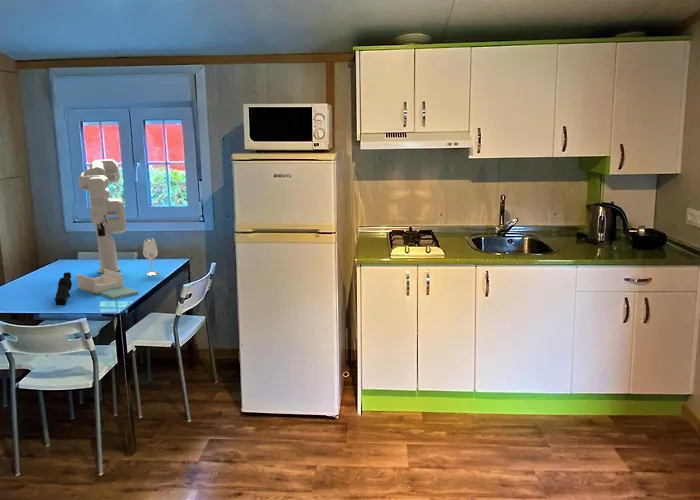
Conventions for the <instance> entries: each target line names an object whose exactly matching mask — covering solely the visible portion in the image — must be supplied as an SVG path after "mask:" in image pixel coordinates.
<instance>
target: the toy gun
mask: <svg viewBox="0 0 700 500" xmlns="http://www.w3.org/2000/svg"><path fill="white" fill-rule="evenodd" d="M72 286H73V283H72V273H71V272H64V273H63V277H60V278H59V281H58V284H57V287H58V288H57V290H56V293H55V297H54V303H55V306H56V307H58V306H57V305H61V306H66V305H67V301H68V298H69V297H70V296H71V293H70V291H71V289H72Z"/></svg>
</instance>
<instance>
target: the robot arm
mask: <svg viewBox="0 0 700 500" xmlns="http://www.w3.org/2000/svg"><path fill="white" fill-rule="evenodd" d="M119 181H120V170H119V166H118V163H117V161H115V160H114V159H95V160H93V161H92V162H91V163H90V164H89V169H86V170H85V171H82V172H80V175H79V179H78V186H79V188H80V189H81V190H82V191H88V195H89V203H90V222H91V223H93V227H94V230H95V234H96V240H97V241H96V242H97V250H98V257H99V268H98V269H97V272H98V273H100V274H104V269H107V270H111V271H114V272H117V273H118V272H119V271H121V270H122V268H121V267H120V266H119V265H118V258H117V247H116V240H115V239H114V237H113V236H112V234H123V233H125V232H126V231H127V228H128V227H127V226H128V225H127V219H126V217H127V215H126V208H125V203H124V200H123V199H120V198H111V193H110V190H109V188H108V187H109V185H110V184H116V183H119ZM108 216H109V217H108Z"/></svg>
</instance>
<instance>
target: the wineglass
mask: <svg viewBox="0 0 700 500" xmlns="http://www.w3.org/2000/svg"><path fill="white" fill-rule="evenodd" d="M157 246H158V245H157V242H156V241H155V239H154V238H145V239H144V240H143V247H142V249H143V250H142V253H143V256H144V257H145V258H146V259H148V260H149V261H150V268H151V270H150V272H146V273H145V276H156V275H159V274H160V272H159V271H154V269H153V260H154V259H155V258H156V257H157V255H158V252H159V251H158V247H157Z"/></svg>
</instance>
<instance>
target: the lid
mask: <svg viewBox="0 0 700 500" xmlns="http://www.w3.org/2000/svg"><path fill="white" fill-rule="evenodd" d="M98 293H99V294H100V295H99V294H98V295H99V296H102V295H103V297H105V298H107V297H108V299H110V298H111V299H110V300H113V299H115V300H118V299H117V298H119V299H122V298H121V297H124V298H127V297H126V296H128V297H131V295H132V296H136V295H135V294H137V295H138V294H139V291H138V290H135V289H133V288H129V287H126V286H124V287H123V286H122V287H117V288H112V289H108V290H103V291H98Z"/></svg>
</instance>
